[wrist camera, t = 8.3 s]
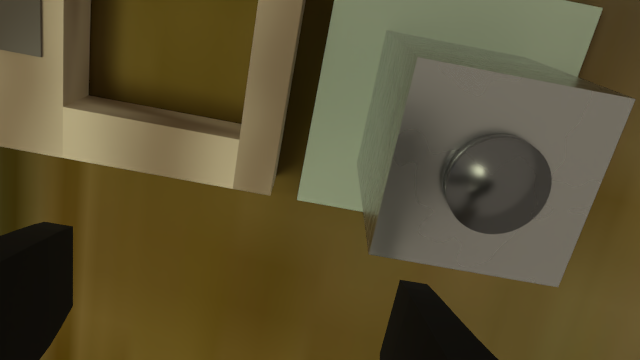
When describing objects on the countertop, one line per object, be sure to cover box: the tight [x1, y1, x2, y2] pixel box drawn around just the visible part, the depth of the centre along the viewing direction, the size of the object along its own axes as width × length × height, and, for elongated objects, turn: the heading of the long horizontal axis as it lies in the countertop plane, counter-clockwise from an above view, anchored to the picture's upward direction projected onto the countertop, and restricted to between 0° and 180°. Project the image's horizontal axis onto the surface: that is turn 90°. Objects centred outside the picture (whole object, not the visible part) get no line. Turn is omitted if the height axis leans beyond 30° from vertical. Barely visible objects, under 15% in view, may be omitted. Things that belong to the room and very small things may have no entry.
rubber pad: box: [297, 0, 603, 212], centre depth 19 cm, size 9×9×1 cm
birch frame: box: [0, 0, 306, 195], centre depth 18 cm, size 12×10×2 cm
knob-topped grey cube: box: [357, 30, 635, 287], centre depth 15 cm, size 5×5×7 cm
